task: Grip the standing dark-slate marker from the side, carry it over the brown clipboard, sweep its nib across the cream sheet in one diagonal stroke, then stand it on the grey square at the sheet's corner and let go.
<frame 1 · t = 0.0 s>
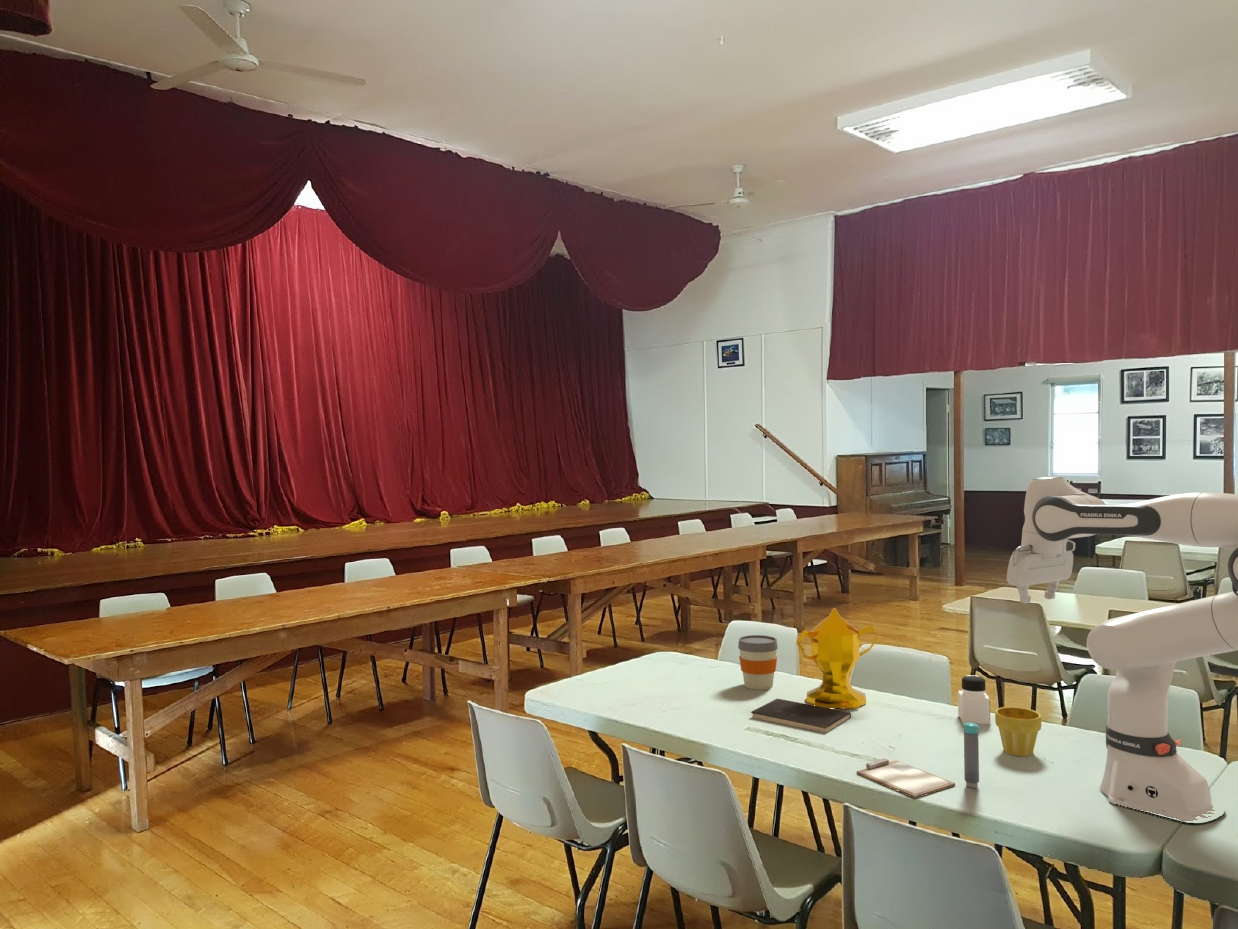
hand: (1037, 600, 205), 39 cm above the table, tool pointing down, fingers open, 8 cm apart
medicine bottle: (974, 720, 238), on the table
trophy cup: (837, 702, 257), on the table
marker: (971, 787, 192), on the table
plant pot: (1018, 752, 213), on the table
hardcover book: (800, 720, 243), on the table
clipboard: (904, 779, 197), on the table
reusable coffee cup: (758, 686, 276), on the table
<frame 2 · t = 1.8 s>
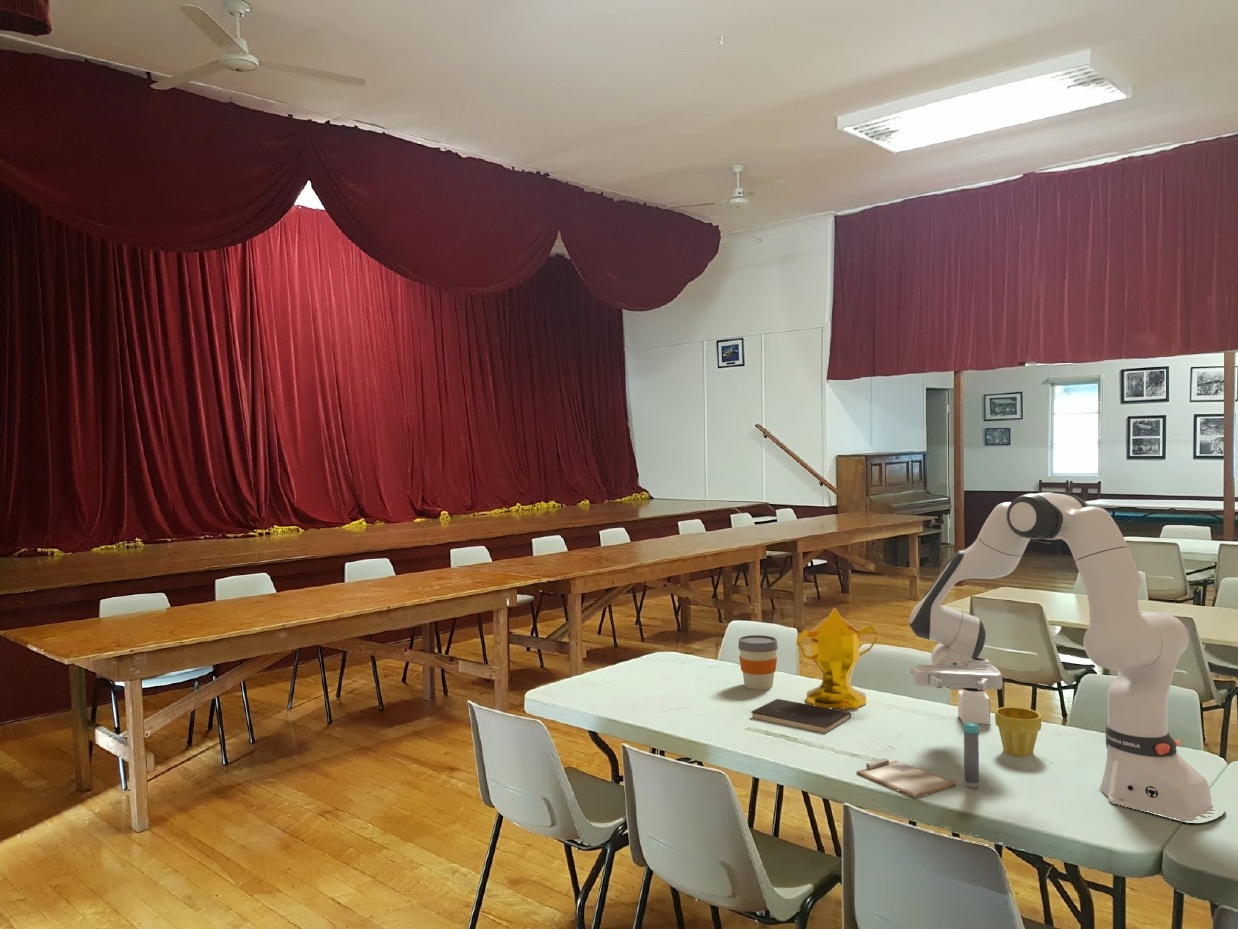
hand: (960, 686, 203), 20 cm above the table, tool horizontal, fingers open, 8 cm apart
nothing on the table moved.
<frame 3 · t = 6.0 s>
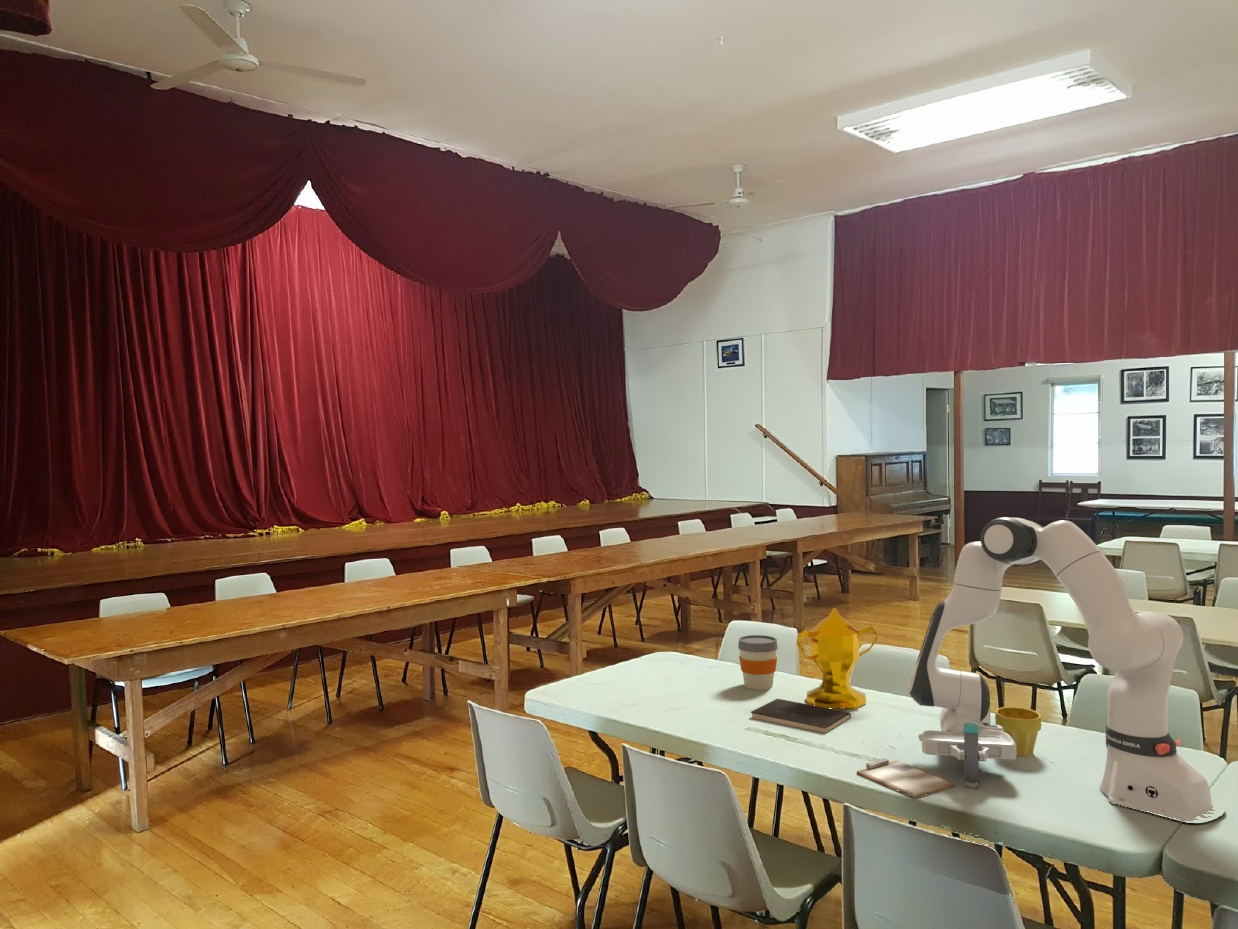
hand: (972, 757, 191), 7 cm above the table, tool horizontal, fingers closed on marker, 3 cm apart
marker: (971, 787, 192), on the table, touching gripper
everything else where it was.
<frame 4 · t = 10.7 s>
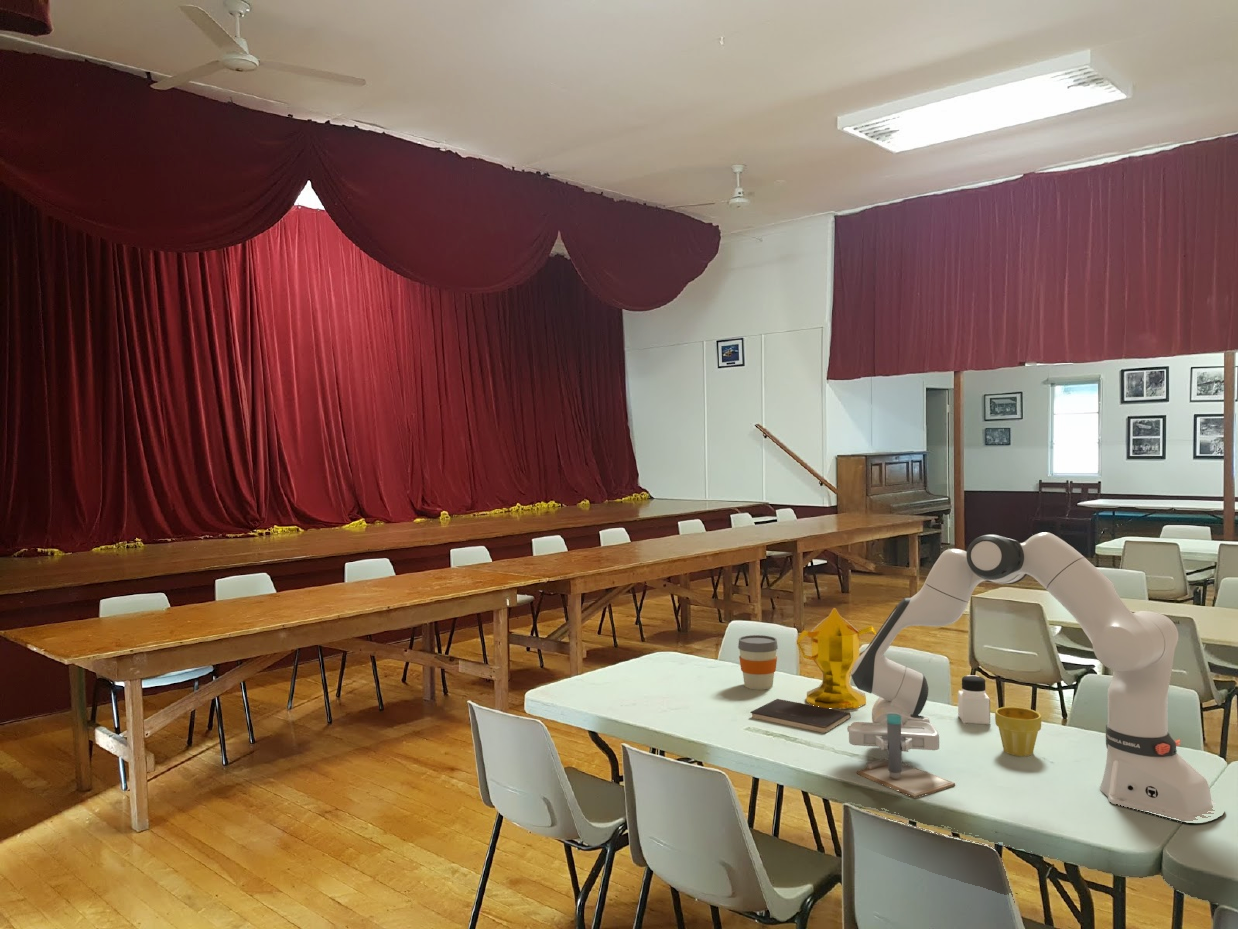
hand: (894, 747, 195), 8 cm above the table, tool horizontal, fingers closed on marker, 3 cm apart
marker: (895, 776, 196), point 1 cm above the table, touching gripper
everything else where it was.
when the fingers open (9 cm above the table, at t = 15.2 s): marker drops 1 cm, resting on clipboard.
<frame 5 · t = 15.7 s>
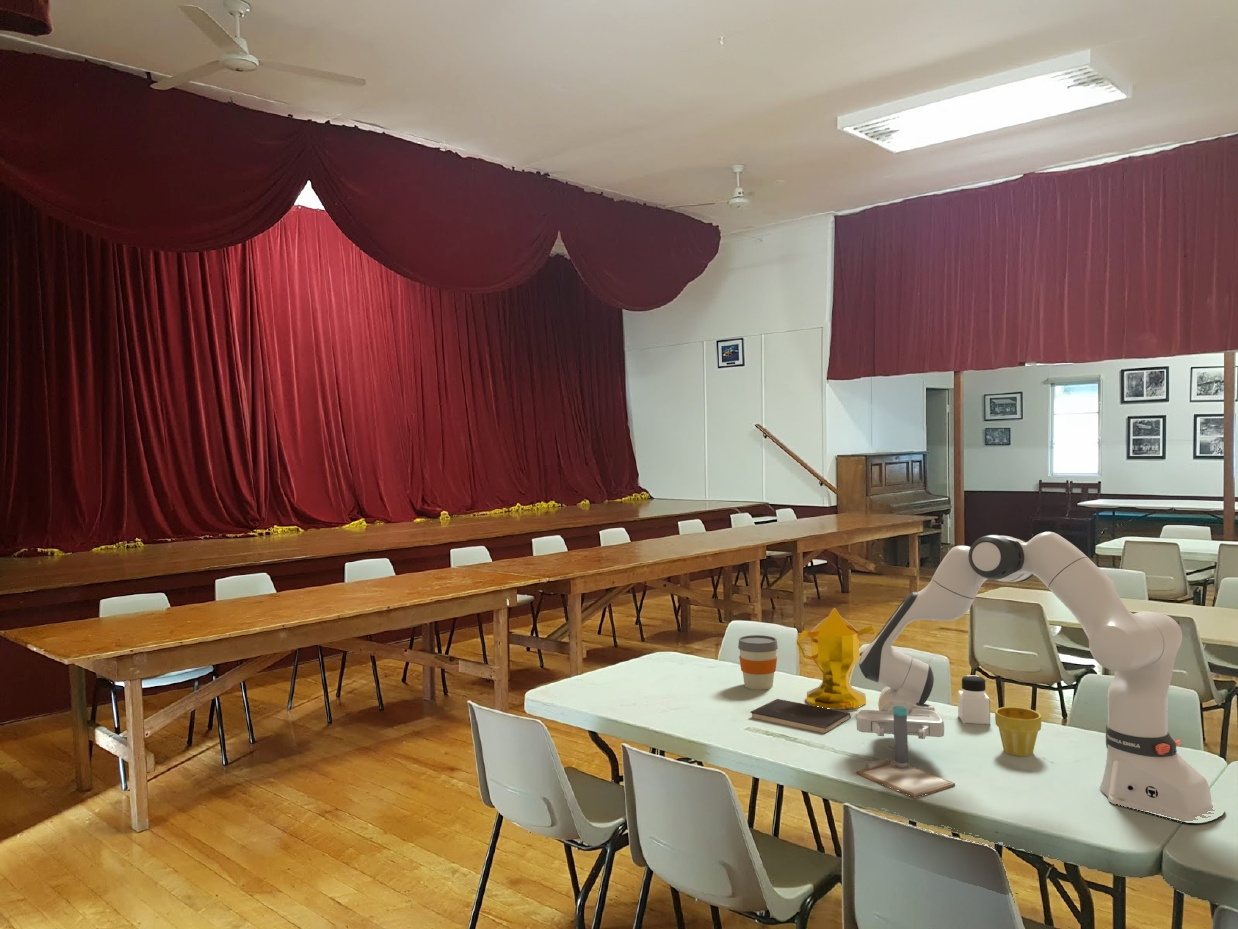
hand: (901, 734, 202), 9 cm above the table, tool horizontal, fingers open, 8 cm apart
marker: (901, 766, 203), point 1 cm above the table, touching clipboard
everything else where it was.
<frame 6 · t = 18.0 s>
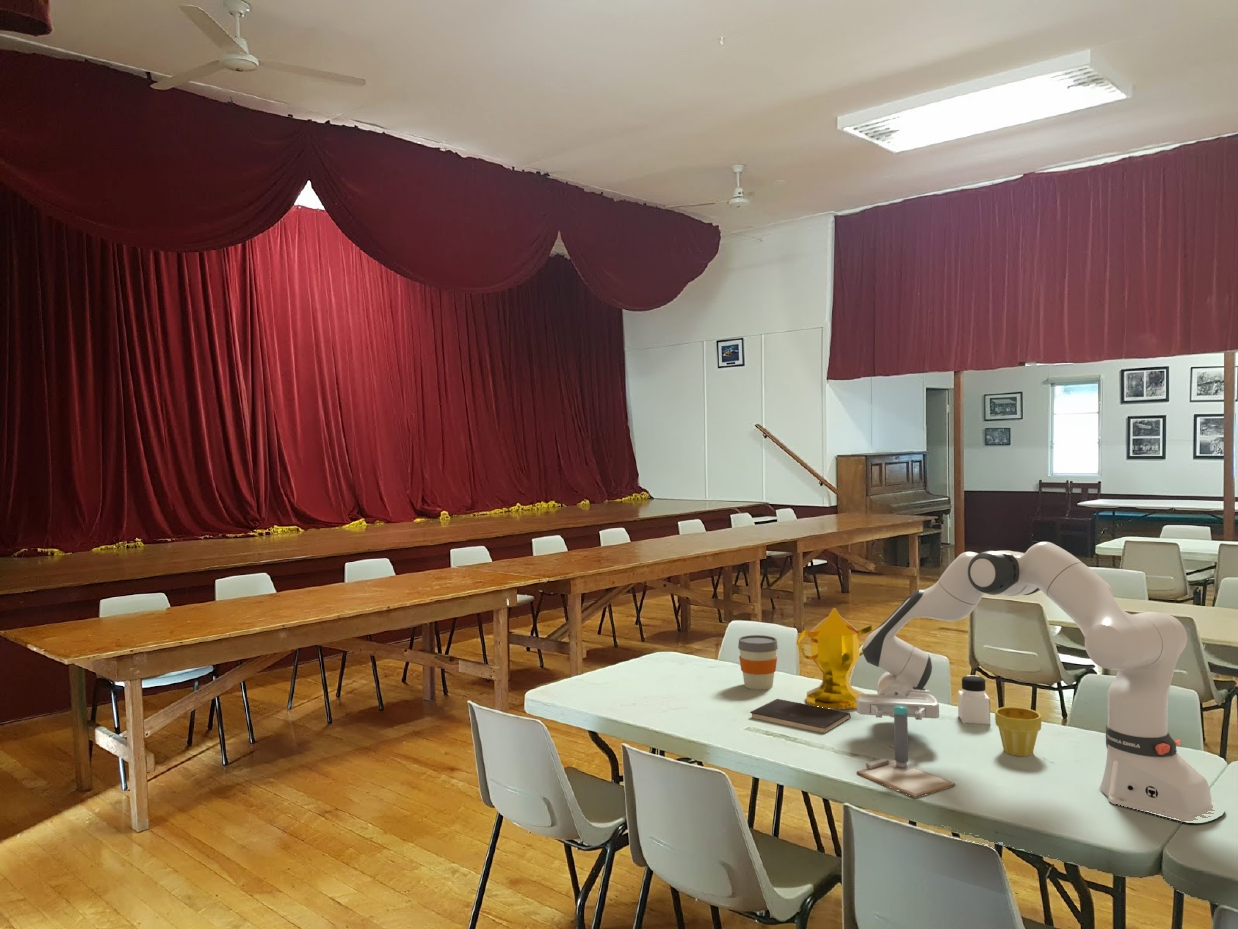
hand: (898, 715, 214), 9 cm above the table, tool horizontal, fingers open, 8 cm apart
nothing on the table moved.
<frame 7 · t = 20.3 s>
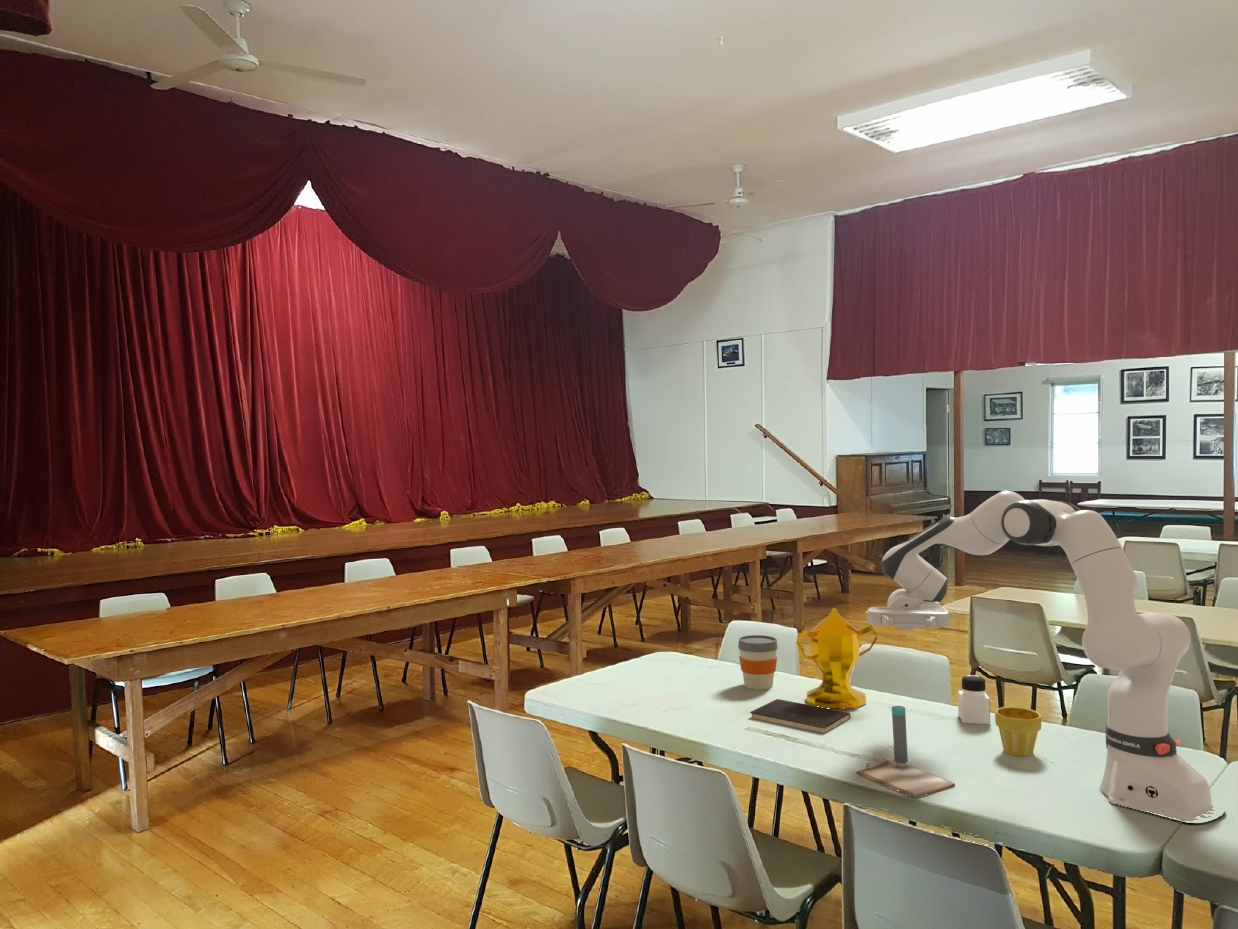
hand: (909, 623, 215), 32 cm above the table, tool horizontal, fingers open, 8 cm apart
nothing on the table moved.
at the end: marker inside the target area (0.0 cm from its centre), point 0.8 cm above the table; marker tilted 2°; the gripper is holding nothing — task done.
